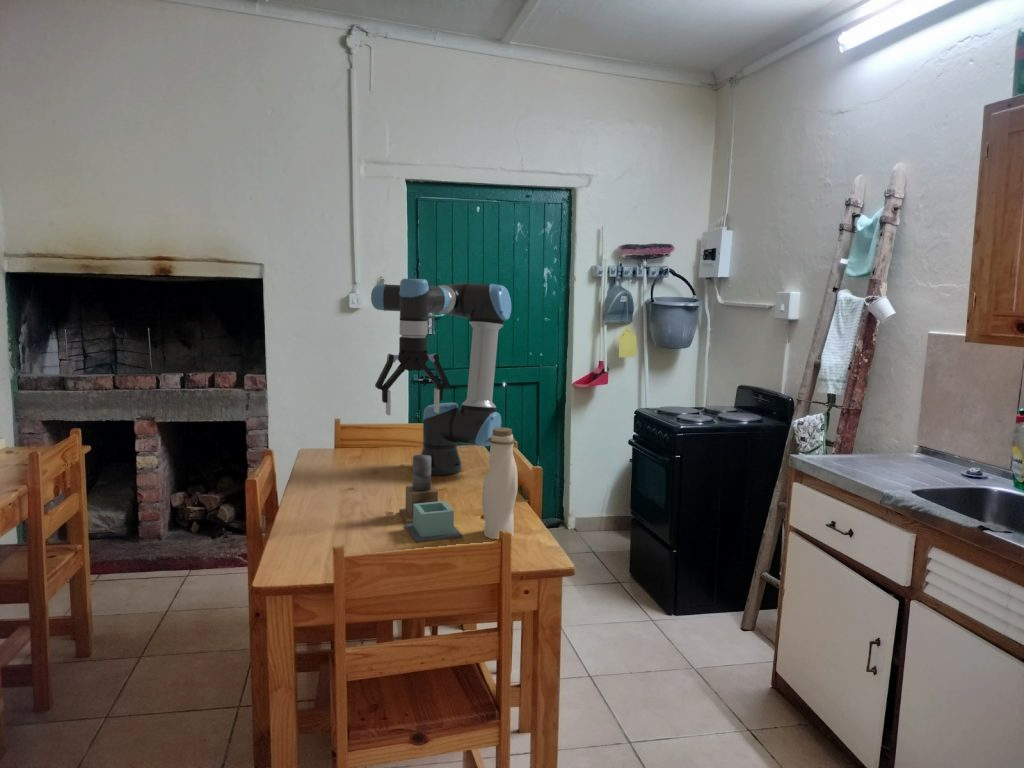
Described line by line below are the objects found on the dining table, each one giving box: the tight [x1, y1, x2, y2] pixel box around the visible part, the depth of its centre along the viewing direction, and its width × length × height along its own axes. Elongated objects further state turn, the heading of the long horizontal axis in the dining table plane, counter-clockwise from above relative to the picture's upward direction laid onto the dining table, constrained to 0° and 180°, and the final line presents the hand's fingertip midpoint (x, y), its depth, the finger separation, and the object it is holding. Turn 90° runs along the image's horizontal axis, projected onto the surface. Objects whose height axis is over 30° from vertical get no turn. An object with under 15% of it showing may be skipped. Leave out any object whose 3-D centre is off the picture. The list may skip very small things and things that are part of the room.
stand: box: [398, 454, 439, 524], centre depth 187 cm, size 10×10×17 cm
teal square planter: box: [413, 500, 455, 537], centre depth 177 cm, size 8×8×6 cm
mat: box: [404, 523, 463, 543], centre depth 177 cm, size 12×12×1 cm
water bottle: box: [481, 426, 519, 540], centre depth 176 cm, size 10×9×28 cm
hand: (412, 413), depth 187 cm, fingers open, 13 cm apart
